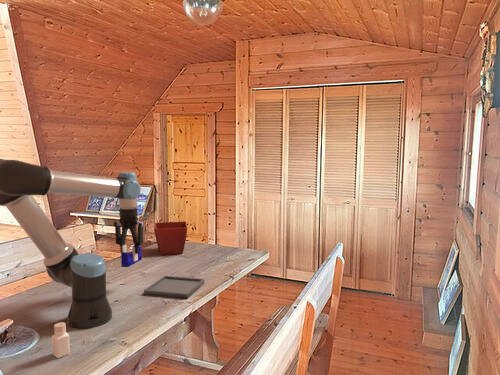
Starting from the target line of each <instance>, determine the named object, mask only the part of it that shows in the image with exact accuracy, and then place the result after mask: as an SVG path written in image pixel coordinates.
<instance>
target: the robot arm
mask: <svg viewBox="0 0 500 375" xmlns="http://www.w3.org/2000/svg"><path fill="white" fill-rule="evenodd" d="M141 191H142V190H141V185H140V183H139V182H138V178H137V174H136V172H133V171H121V172H119V173H118V174H117V177H109V176H108V177H107V176H100V175H99V176H98V175H92V174H84V173H76V172H75V173H74V172H68V171H59V170H51V168H50V167H49V166H44V165H43V166H42V165H39V164H38V165H37V164H33V163H28V162H25V161H22V160H17V159H3V158H0V207H5V208H7V210H8V211H9V212H10V214H11V215H12V216H13V218H14V219H15V220H16V221H17V223H18V225H20V227H21V229H23V231H24V232H25V233H26V235H27V236H28V237H29V239H30V240H31V241H32V243H33V244H34V245H35V247H36V248H37V249H38V250H39V252H40V253H41V255H42V256H43V257H44V259H43V265H44V266H45V268H46V269H45V270H46V273H47V275H48V277H49V278H51V280H52V281H54V282H55V283H58V284H61V285H65V286H67V287H69V288H71V304H70V307H69V311H68V314H67V324H68V326H69V327H72V328H75V329H76V328H77V329H89V328H94V327H98V326H102V325H103V324H106V323H107V322H109V321H111V319H112V318H113V309H112V308H111V305H110V302H109V299H108V297H107V275H106V274H107V273H106V272H107V271H106V270H107V267H106V262H105V258H104V257H103V256H102V255H100V254H97V253H88V252H87V253H86V252H85V253H79V252H78V251H77V249H76V248H75V246H74V244H72V243H66V241H65V239H64V238H63V237H62V236H61V234H60V232H58V230H57V229H56V227H55V226H54V224H53V223H52V222H51V220H50V219H49V217H48V216H47V215H46V212H45V211H44V210H43V209H42V208H41V205H40V204H39V203H38V201H37V200H36V199H35V197H34V196H41V197H42V196H46V195H48V194H58V195H69V196H70V195H71V196H72V195H74V196H84V197H85V196H86V197H95V198H110V199H112V198H114V199H118V208H119V209H118V210H119V220H117V221H114V222H113V225H114V230H115V244H116V245H119V252H120V254H121V253H122V252H128V250H127V248H128V245H127V244H126V239H127V235H128V230H129V232H130V234H131V238H132V242H133V246H132V253H133V262H135V261H137V260H138V253H139V246H142V245H143V244H144V226H145V222H144V221H139V219H138V208H137V207H138V198H139V196H140V195H141Z"/></svg>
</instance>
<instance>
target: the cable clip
mask: <svg viewBox="0 0 500 375" xmlns="http://www.w3.org/2000/svg"><path fill="white" fill-rule="evenodd" d="M120 256H121V268H129V267H131V266H134V264H136V263H138V262H140V261H141V260H143V259H142V256H143V255H142V246H141V245H139V253H138V260H137V261H135V262H133V252H129V251H127V252H122V253H121V252H120Z"/></svg>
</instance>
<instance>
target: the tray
mask: <svg viewBox="0 0 500 375" xmlns="http://www.w3.org/2000/svg"><path fill="white" fill-rule="evenodd" d="M204 284H205V278H197V277H196V278H195V277H185V276H173V275H164V276H162V277H160V278H159V279H158V280H157V281H155V282H154V283H152V284H151V285H150V286H148V287H147V288H145V289H144V290H143V294H144V296H152V297H153V296H154V297H162V298H163V297H164V298H173V299H175V298H176V299H185V300H188V299H189V298H191V296H193V295H194V294H195V293H196V292H197V291H198V290H199V289H201V287H202V286H203V285H204Z"/></svg>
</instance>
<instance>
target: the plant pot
mask: <svg viewBox="0 0 500 375" xmlns="http://www.w3.org/2000/svg"><path fill="white" fill-rule="evenodd" d="M153 232H154V237H155V242H156V245H157V248H158V251H159V254H160V256H168V255H169V256H171V255H182V254H183V253H184V250H185V246H186V241H187V233H188V225H187V221H169V222H168V221H167V222H155V223H154V227H153Z"/></svg>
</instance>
